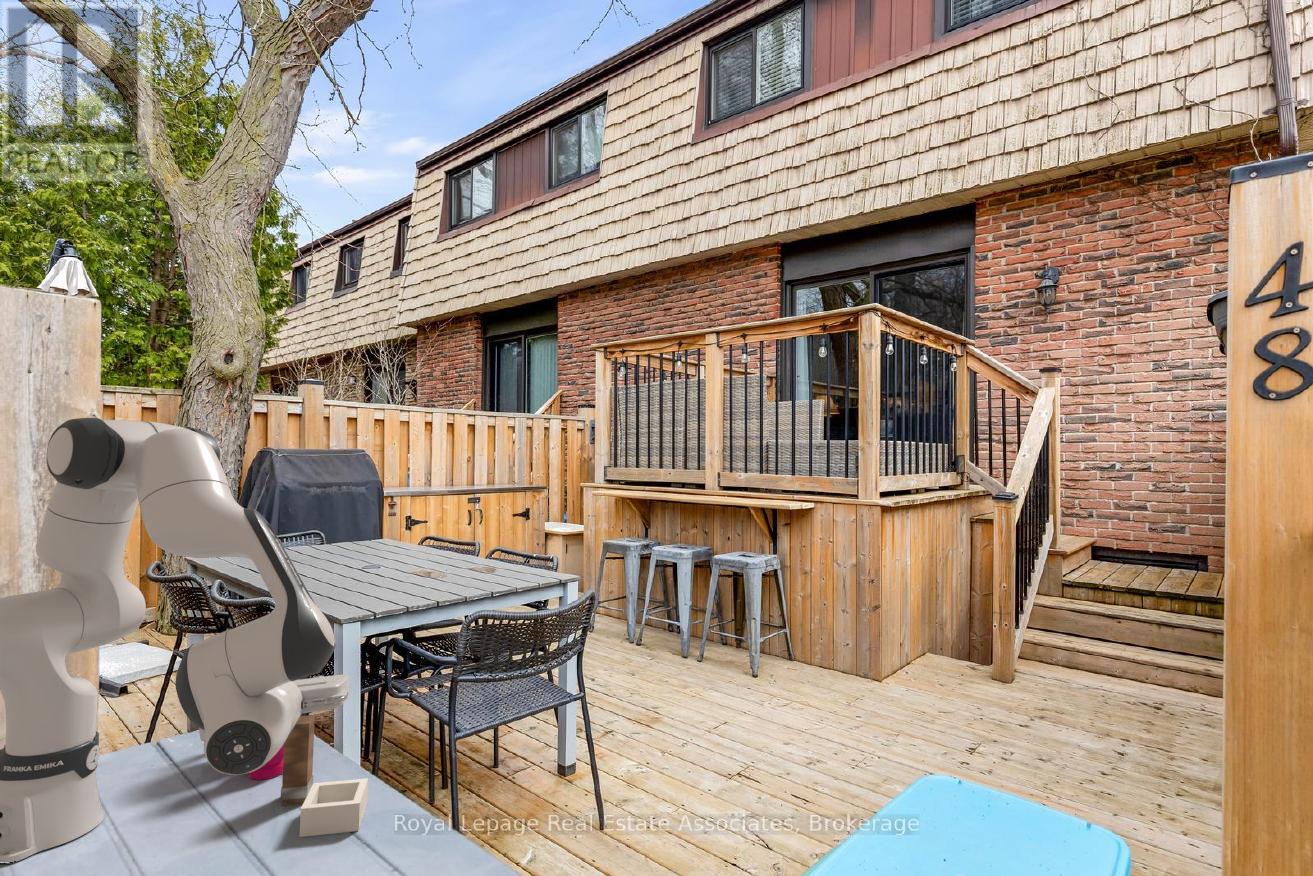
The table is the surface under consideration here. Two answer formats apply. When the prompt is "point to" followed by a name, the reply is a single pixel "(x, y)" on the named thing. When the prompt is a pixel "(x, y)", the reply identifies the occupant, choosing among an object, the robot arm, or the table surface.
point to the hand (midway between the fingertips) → (287, 684)
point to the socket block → (334, 807)
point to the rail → (298, 762)
